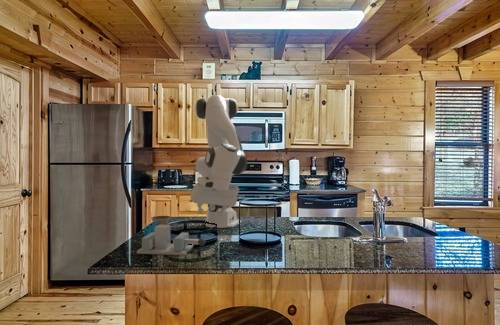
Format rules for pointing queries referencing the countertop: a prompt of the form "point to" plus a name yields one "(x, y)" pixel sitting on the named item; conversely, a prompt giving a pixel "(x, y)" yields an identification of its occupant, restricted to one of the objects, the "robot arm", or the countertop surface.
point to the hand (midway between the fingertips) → (210, 213)
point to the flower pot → (161, 220)
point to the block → (162, 236)
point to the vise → (149, 248)
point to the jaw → (186, 241)
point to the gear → (151, 228)
